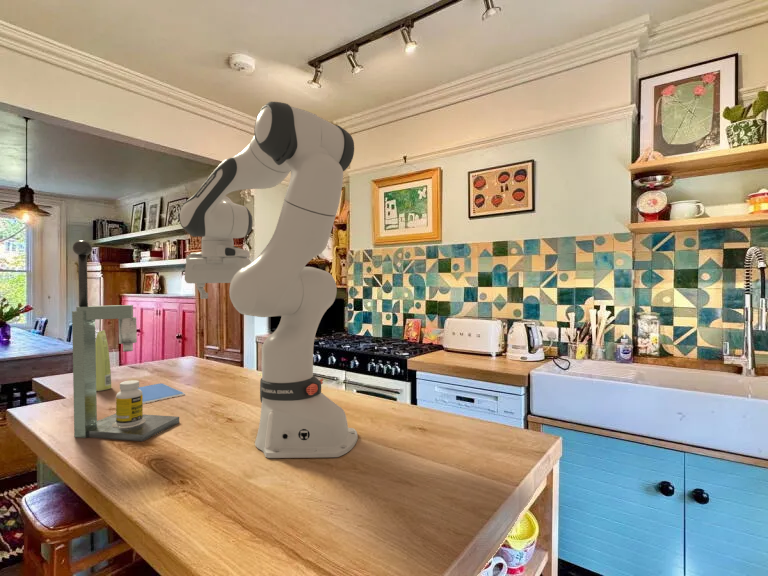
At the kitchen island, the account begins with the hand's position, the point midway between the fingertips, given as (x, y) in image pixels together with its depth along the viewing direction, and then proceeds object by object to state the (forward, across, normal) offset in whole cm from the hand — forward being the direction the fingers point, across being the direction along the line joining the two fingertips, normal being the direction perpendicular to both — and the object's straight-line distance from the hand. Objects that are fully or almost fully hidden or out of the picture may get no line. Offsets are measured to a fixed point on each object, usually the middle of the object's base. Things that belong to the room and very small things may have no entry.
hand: (218, 298), depth 118 cm
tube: (+30, -47, +7) cm, 56 cm away
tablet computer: (+31, -26, +4) cm, 41 cm away
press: (+31, -9, -24) cm, 40 cm away
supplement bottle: (+29, -9, -23) cm, 39 cm away
